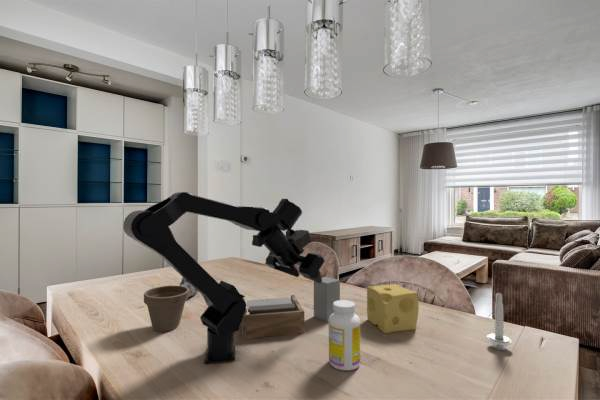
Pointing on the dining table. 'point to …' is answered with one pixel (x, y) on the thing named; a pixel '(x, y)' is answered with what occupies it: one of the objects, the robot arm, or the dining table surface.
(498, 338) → the screw
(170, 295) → the flower pot
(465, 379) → the dining table surface
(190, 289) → the mineral rock
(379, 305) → the cheese
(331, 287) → the grey rectangular block
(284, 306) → the trapdoor
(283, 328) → the trap frame
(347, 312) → the supplement bottle
